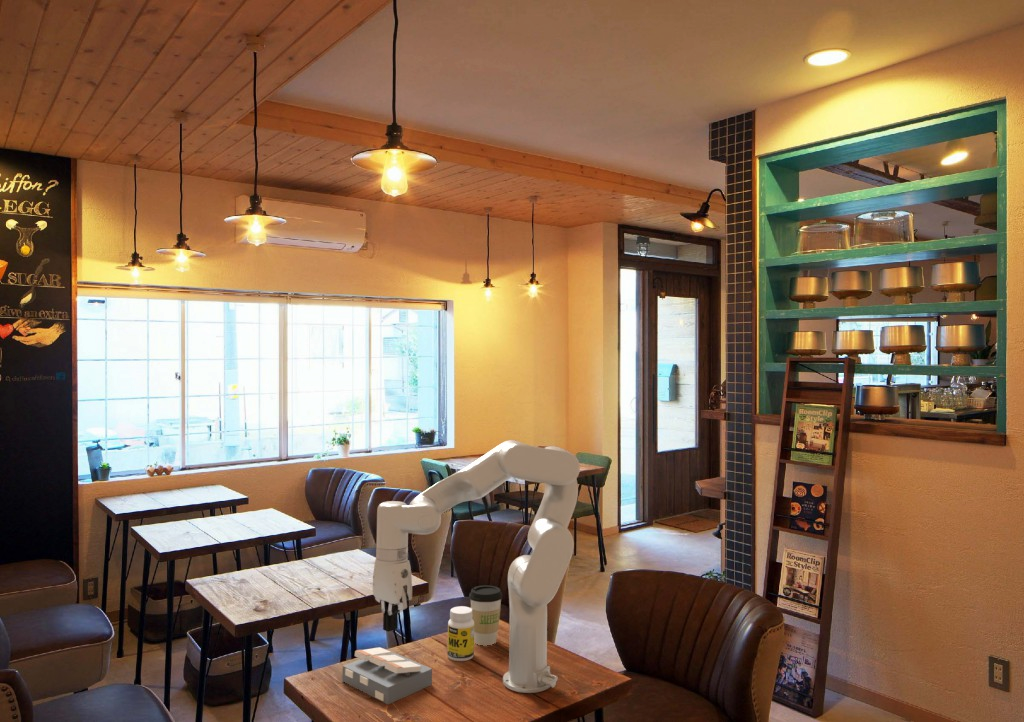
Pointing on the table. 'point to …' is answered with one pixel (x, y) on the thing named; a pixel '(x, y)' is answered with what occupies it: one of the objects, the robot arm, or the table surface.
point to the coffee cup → (485, 613)
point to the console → (385, 679)
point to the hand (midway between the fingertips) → (390, 629)
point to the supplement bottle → (460, 634)
